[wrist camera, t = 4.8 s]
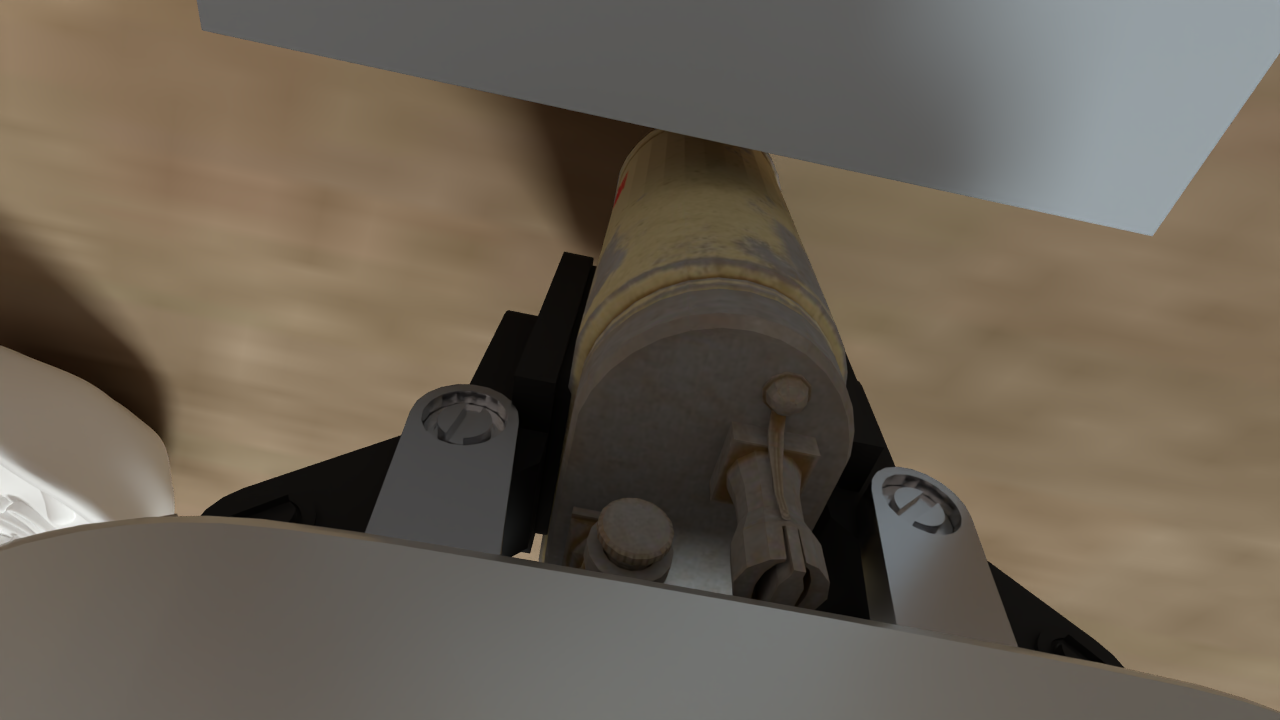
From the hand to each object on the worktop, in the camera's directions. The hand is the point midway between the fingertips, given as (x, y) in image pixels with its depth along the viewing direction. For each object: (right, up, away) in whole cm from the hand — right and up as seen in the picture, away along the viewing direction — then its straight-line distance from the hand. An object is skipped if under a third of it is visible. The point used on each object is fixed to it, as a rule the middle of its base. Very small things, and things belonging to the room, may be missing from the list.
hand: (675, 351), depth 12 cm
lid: (+2, +12, -8) cm, 15 cm away
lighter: (0, +2, +3) cm, 4 cm away
